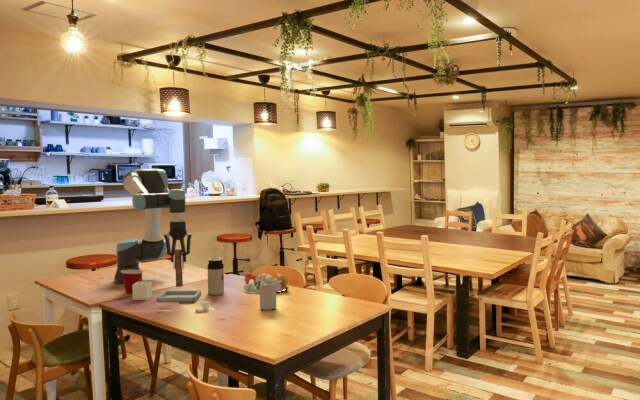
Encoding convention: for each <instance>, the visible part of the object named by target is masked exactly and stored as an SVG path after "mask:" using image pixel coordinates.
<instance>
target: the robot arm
mask: <svg viewBox="0 0 640 400" xmlns="http://www.w3.org/2000/svg"><path fill="white" fill-rule="evenodd" d="M168 179H169V178H168V175H167V173H166V170H164V169H161V168H134V169H132V170H129V171H128V172H126V174H124V176H123V177H122V181H121V183H122V187H123V188H124V190H126V191H128V192H129V193H130V195H131V197H132V198H131V199H132V201H131V203H132V207H133V209H135V210H145V211H144V212H145V215H144V216H145V219H144V220H145V221H144V223H145V225H144V226H145V227H144V235H143V236H142V237H141V238H142V239H141V240H139V239H138V238H130V239H124V240H121V241H119V242H117V244H116V271H115V273H114V278H113V282H114V284H115V283H116V284H124V281H123V277H122V273H121V271H122V270H141V269H140V262H149V261H157V260H162V259H163V258H164V257H165V256H166V254H167V255H168V256H170V261H171V263H172V264H173V267H172V269H173V270H176V269H175V249H176V246H177V241H179V243H180V249H182V256H181V269H182V270H184V269H185V263H186V262H187V255H190V254H191V241H192V240H191V239H192V236H193V233H189V232H188V231H187V223H186V220H187V219H186V218H187V217H186V213H187V212H186V191H185V190H184V189H181V188H177V189H176V188H174V189H170V190H169V191H168V192H165V190H167V189H168V188H169V180H168ZM167 208H168V209H169V213H168V214H169V221H170V222H169V232H168V233H165V234H164V235H162V233H161V231H162V228H161V227H162V209H167ZM170 237H171V238H172V240H171V239H170ZM185 237H186V238H187V239H186V244H185V239H184V238H185ZM170 240H171V241H172V244H171V243H170ZM185 245H186V246H185ZM142 281H143V274H142V275H141V280H140V282H142Z"/></svg>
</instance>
